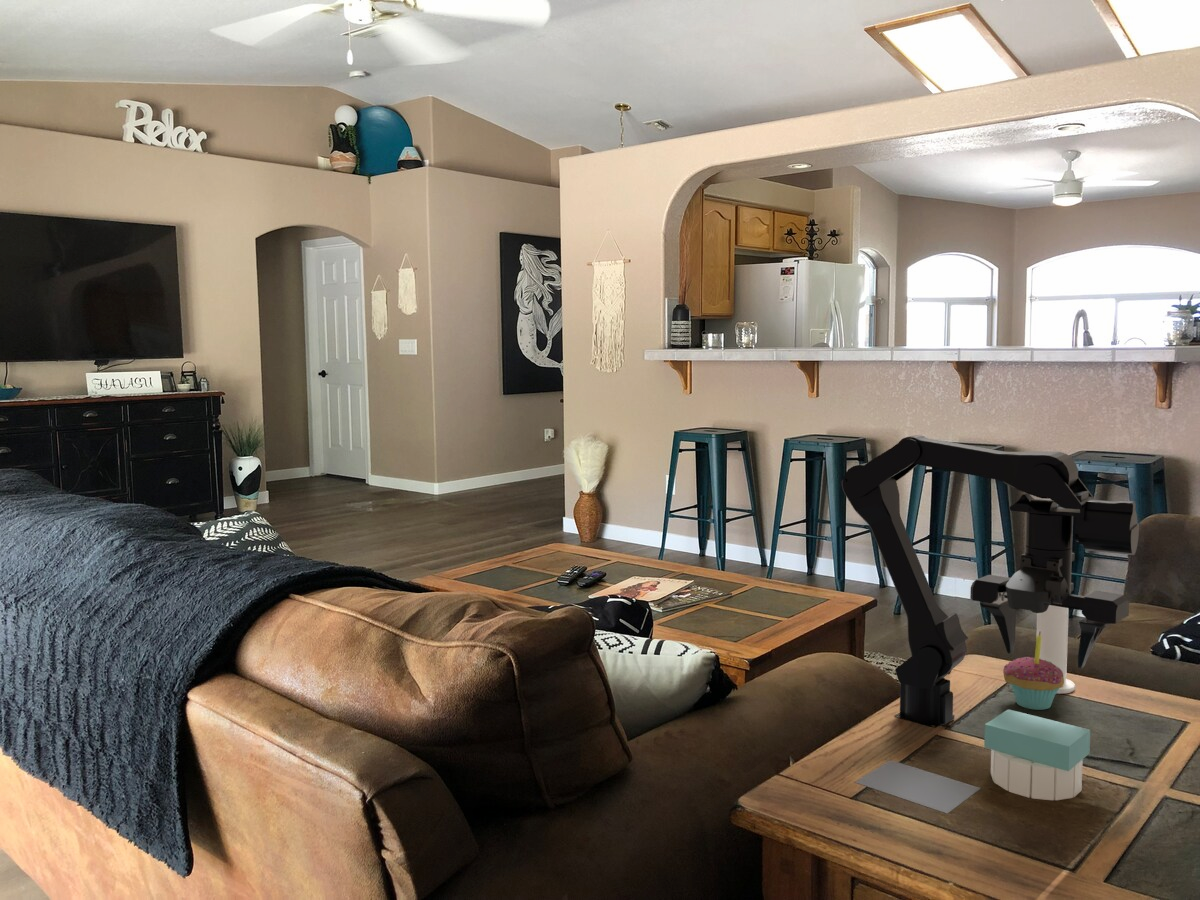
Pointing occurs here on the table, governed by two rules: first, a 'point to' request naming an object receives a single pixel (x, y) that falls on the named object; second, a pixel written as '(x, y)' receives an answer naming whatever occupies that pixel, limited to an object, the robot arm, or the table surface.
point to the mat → (918, 786)
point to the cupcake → (1033, 680)
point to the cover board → (1037, 739)
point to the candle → (1055, 641)
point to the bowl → (1035, 777)
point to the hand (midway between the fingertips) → (1044, 660)
